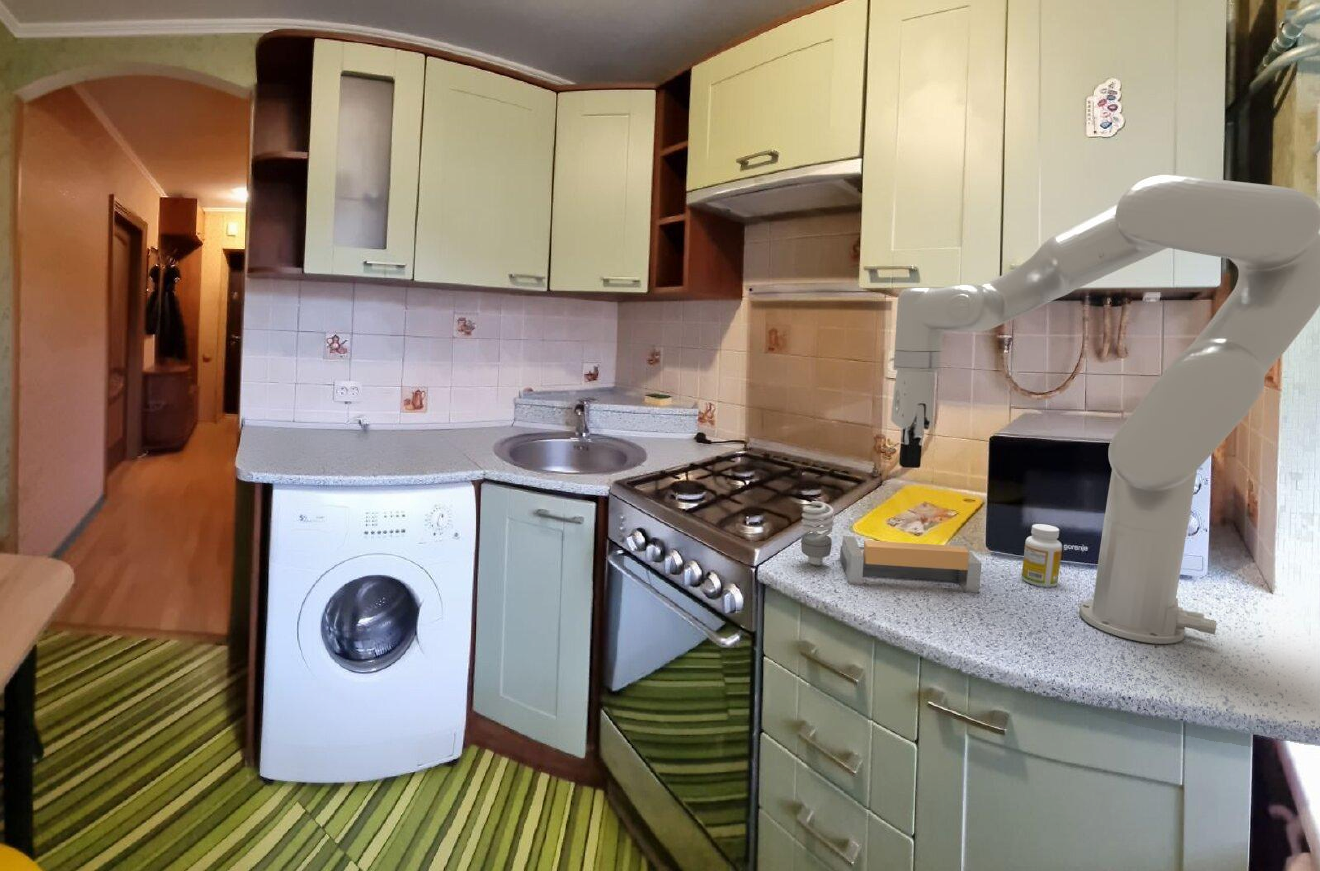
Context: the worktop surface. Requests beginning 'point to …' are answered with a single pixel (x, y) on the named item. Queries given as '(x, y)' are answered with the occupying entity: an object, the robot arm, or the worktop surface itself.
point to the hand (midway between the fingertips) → (909, 466)
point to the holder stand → (906, 568)
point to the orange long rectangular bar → (916, 555)
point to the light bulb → (816, 542)
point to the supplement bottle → (1042, 556)
